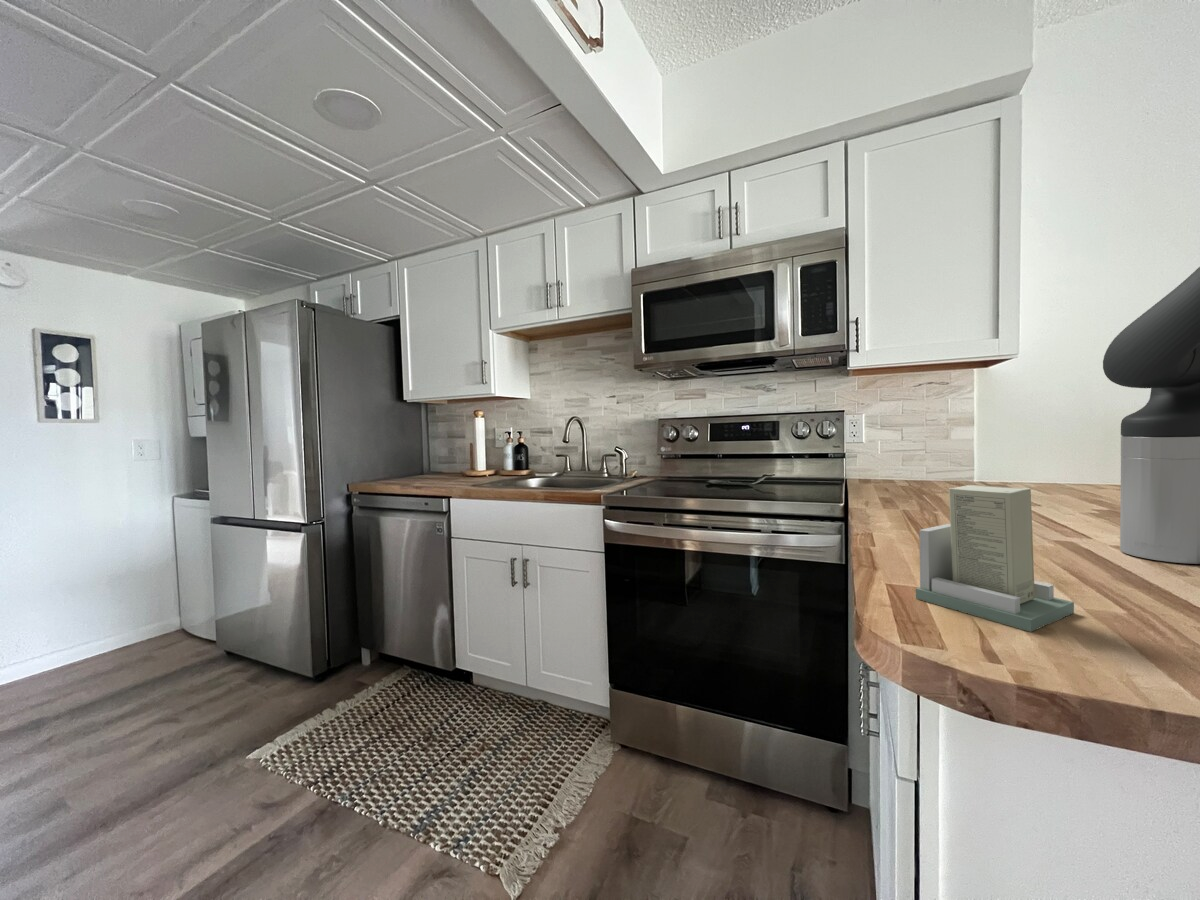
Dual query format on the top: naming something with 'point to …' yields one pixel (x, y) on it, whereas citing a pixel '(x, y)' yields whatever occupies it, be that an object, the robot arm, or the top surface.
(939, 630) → the top surface
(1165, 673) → the top surface
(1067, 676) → the top surface
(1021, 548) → the skincare box
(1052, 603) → the deck socket
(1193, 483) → the robot arm
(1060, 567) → the top surface
